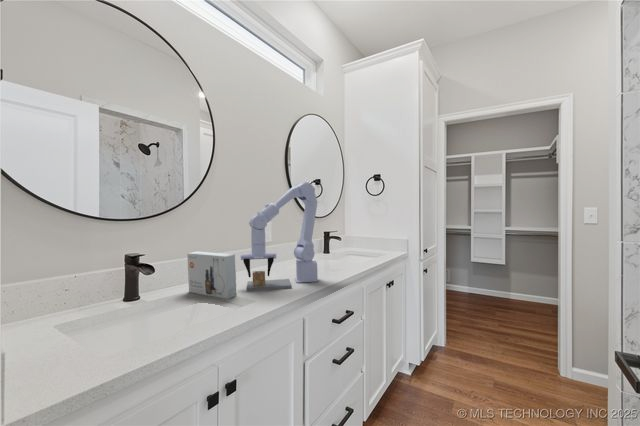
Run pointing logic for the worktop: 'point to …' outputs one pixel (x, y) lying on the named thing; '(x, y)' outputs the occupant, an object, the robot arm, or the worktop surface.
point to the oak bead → (258, 278)
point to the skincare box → (212, 274)
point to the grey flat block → (269, 285)
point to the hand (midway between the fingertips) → (259, 276)
